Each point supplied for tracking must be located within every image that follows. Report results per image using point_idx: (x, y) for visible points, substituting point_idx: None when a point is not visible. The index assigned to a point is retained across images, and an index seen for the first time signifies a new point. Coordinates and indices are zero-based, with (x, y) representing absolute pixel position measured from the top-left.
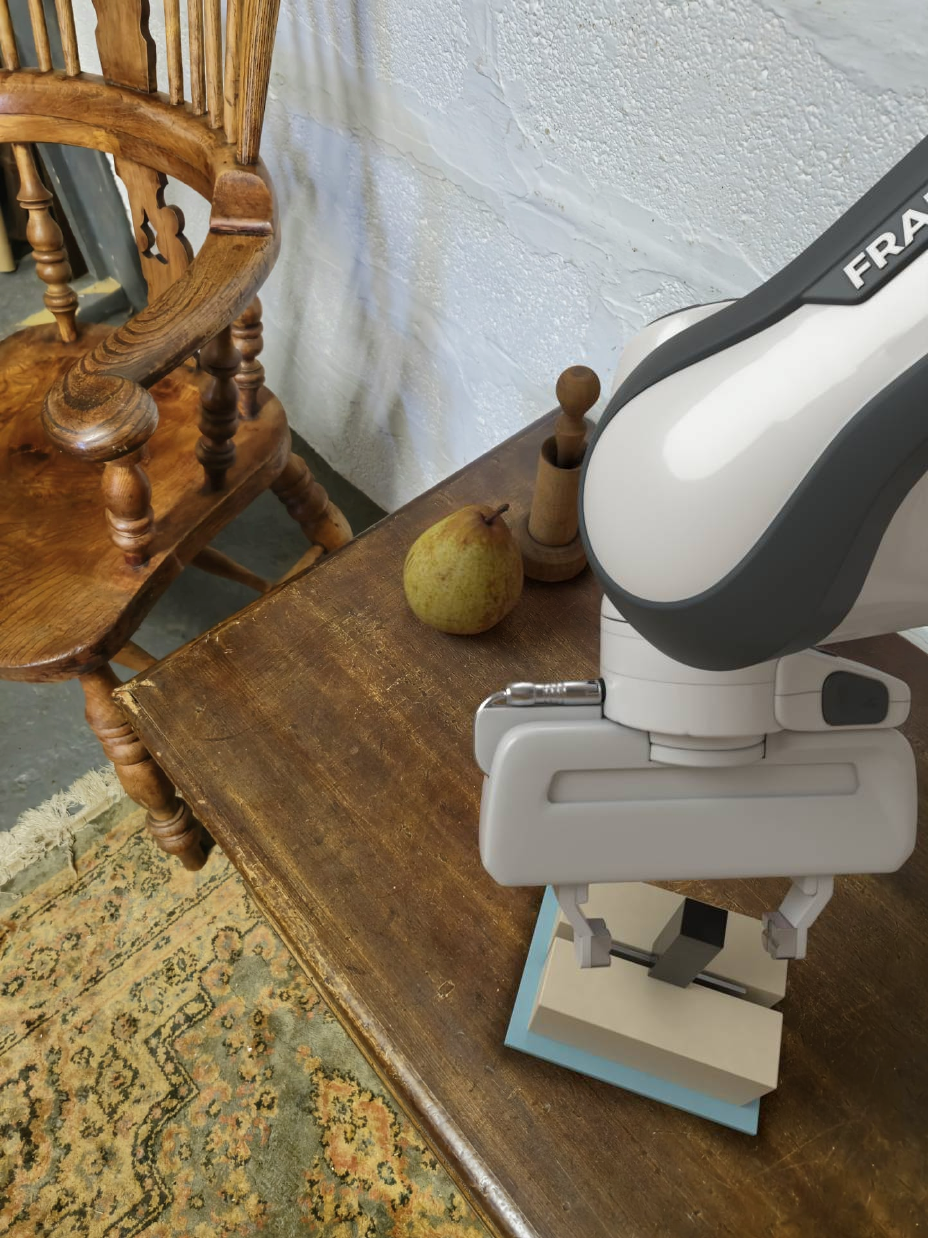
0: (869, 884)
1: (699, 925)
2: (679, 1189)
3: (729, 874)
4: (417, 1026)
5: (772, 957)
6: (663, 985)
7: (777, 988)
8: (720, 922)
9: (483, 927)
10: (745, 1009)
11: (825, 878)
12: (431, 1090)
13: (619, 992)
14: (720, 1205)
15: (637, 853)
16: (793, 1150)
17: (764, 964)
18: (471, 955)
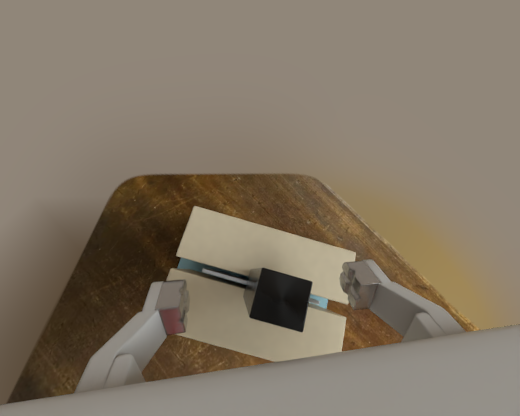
0: (58, 386)
1: (289, 293)
2: (242, 188)
3: (255, 372)
4: (381, 258)
5: (185, 283)
6: None
7: (175, 274)
8: (261, 300)
9: (353, 320)
10: (205, 256)
11: (91, 384)
12: (367, 227)
13: (299, 264)
14: (222, 182)
15: (423, 395)
16: (178, 205)
17: None
18: None
